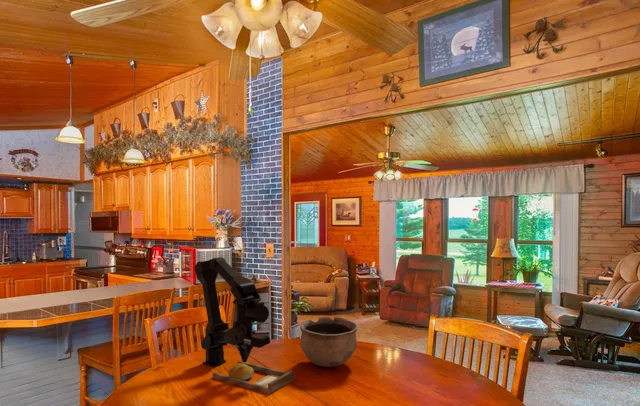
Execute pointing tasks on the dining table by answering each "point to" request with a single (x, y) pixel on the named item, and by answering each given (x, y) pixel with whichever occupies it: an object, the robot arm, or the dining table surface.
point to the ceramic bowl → (328, 340)
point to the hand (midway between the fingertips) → (244, 362)
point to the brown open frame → (266, 384)
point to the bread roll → (241, 371)
